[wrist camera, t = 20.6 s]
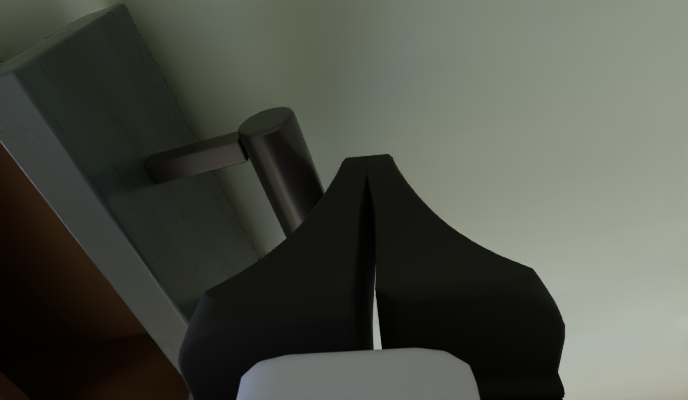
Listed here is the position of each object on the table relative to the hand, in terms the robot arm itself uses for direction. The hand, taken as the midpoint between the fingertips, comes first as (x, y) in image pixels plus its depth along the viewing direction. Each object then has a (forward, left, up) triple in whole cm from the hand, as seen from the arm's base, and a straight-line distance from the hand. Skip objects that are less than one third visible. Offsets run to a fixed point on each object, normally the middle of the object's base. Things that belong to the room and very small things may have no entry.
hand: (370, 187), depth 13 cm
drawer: (+9, -5, -2) cm, 10 cm away
